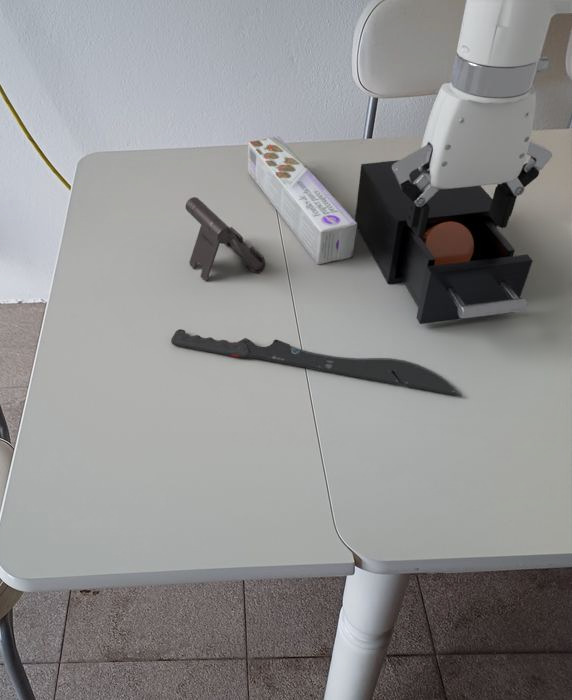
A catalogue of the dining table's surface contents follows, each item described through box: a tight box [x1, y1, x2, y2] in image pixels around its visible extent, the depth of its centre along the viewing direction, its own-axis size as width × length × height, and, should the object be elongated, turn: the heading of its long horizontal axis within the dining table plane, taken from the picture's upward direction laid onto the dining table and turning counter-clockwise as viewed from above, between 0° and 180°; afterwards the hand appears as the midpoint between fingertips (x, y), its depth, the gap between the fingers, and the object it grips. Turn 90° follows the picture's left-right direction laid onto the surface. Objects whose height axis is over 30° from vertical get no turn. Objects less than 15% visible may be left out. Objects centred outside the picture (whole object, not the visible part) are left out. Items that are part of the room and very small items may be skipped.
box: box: [247, 135, 358, 265], centre depth 93 cm, size 27×5×6 cm, turn 18°
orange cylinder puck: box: [421, 222, 474, 265], centre depth 77 cm, size 6×6×3 cm
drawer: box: [396, 217, 533, 325], centre depth 75 cm, size 18×11×7 cm, turn 8°
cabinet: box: [354, 159, 498, 285], centre depth 84 cm, size 15×13×9 cm
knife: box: [170, 328, 462, 396], centre depth 71 cm, size 32×4×1 cm, turn 72°
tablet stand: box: [185, 196, 266, 282], centre depth 83 cm, size 9×8×8 cm
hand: (456, 226), depth 74 cm, fingers open, 9 cm apart
